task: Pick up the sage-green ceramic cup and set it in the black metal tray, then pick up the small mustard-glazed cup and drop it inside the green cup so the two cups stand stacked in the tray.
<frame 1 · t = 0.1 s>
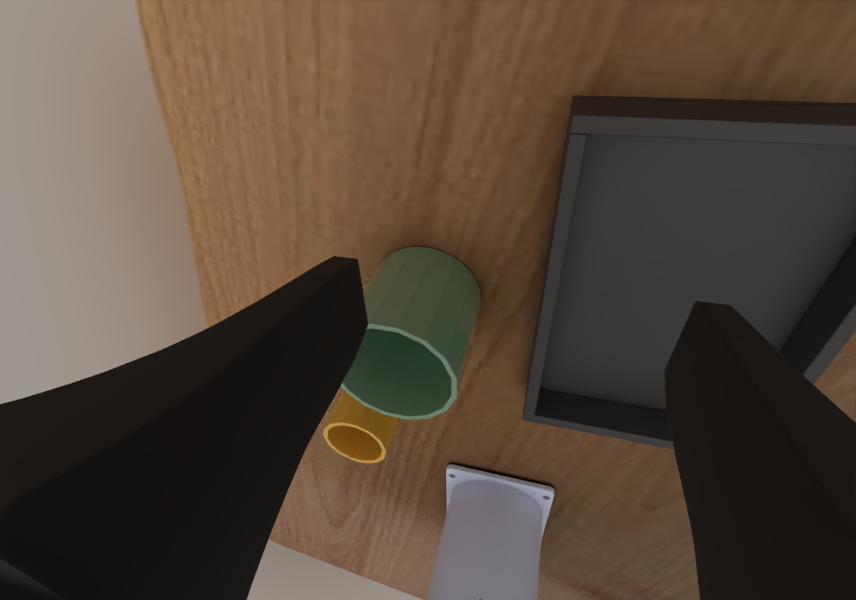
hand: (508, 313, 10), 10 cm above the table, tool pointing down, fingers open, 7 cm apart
mustard cup: (386, 371, 28), on the table
green cup: (426, 293, 23), on the table
tray: (671, 292, 20), on the table
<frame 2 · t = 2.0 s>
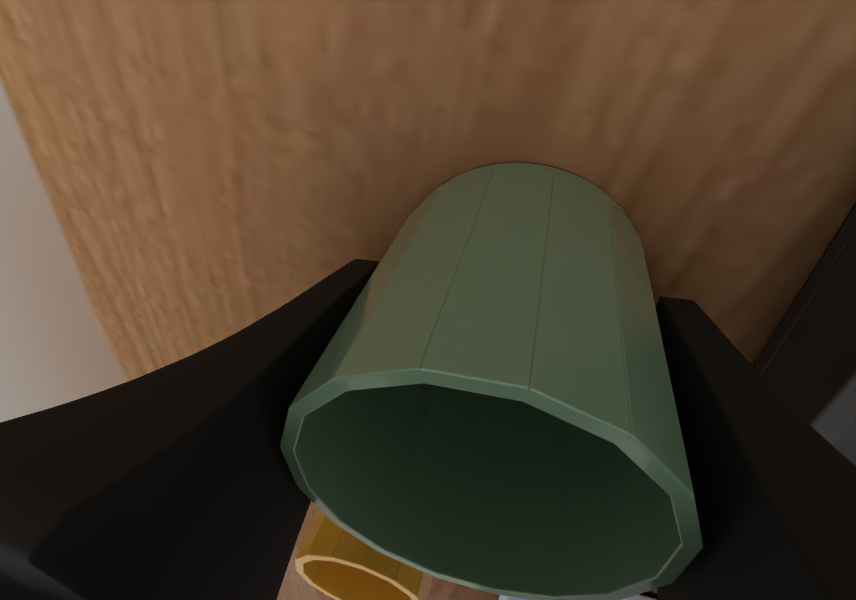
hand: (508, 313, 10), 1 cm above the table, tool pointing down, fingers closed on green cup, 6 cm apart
mustard cup: (415, 422, 16), on the table
green cup: (513, 277, 11), on the table, touching gripper
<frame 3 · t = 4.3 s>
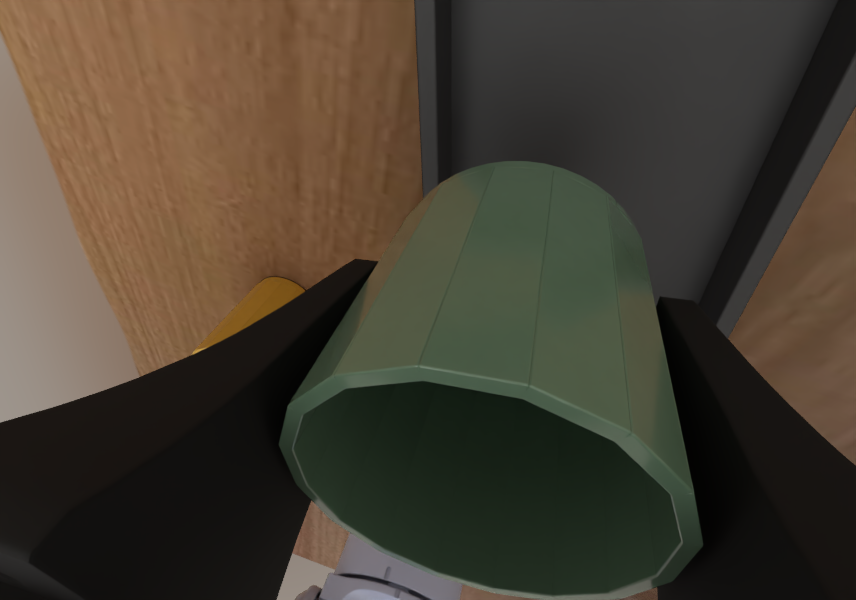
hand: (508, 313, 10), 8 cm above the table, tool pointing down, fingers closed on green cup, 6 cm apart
mustard cup: (287, 303, 24), on the table
green cup: (513, 276, 11), point 7 cm above the table, touching gripper
tray: (591, 164, 15), on the table
when the fingers open (2 cm above the table, at t = 6.7 s): green cup stays where it is, resting on tray.
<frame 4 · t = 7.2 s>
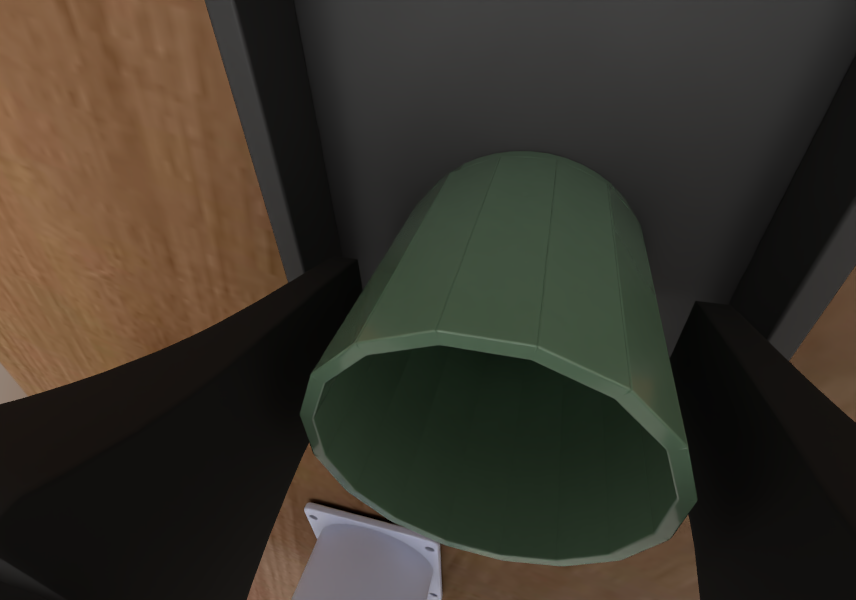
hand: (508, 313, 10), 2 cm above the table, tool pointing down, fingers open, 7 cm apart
green cup: (517, 263, 11), resting on tray
tray: (519, 256, 12), on the table
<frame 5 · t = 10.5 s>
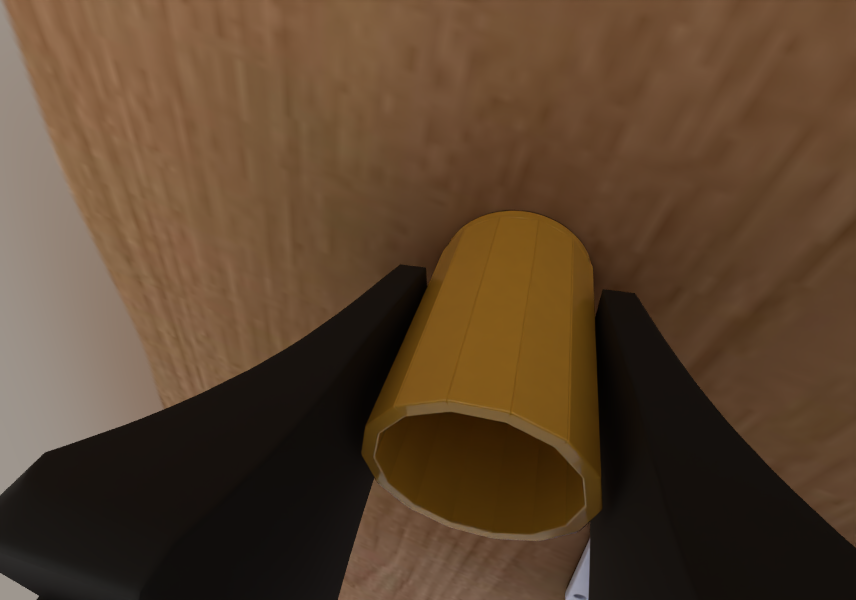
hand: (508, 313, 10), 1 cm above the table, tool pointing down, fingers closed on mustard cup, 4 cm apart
mustard cup: (513, 277, 11), on the table, touching gripper
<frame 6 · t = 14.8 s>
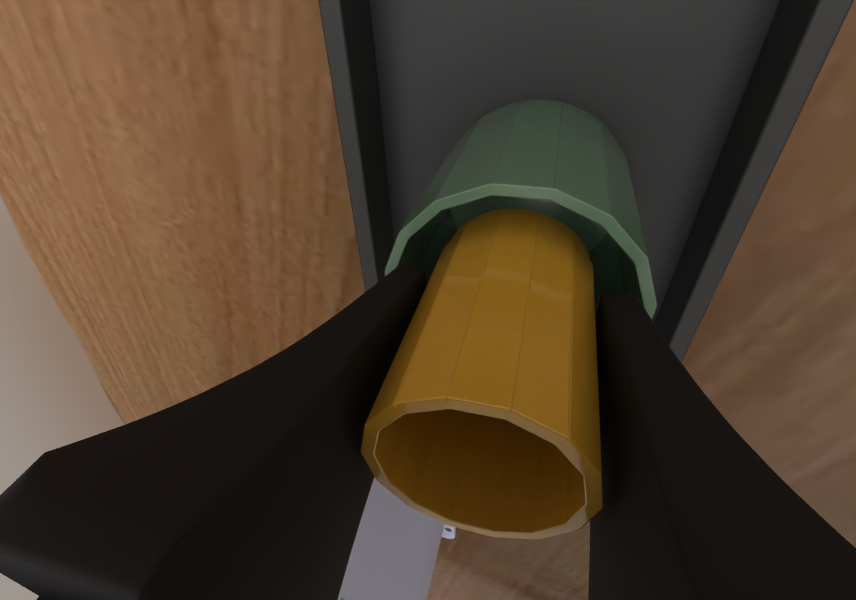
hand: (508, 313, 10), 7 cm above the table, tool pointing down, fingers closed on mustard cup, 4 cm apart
mustard cup: (514, 275, 11), point 5 cm above the table, touching gripper
green cup: (531, 194, 14), resting on tray
tray: (532, 189, 15), on the table
when the fingers open (8 cm above the table, at t = 25.0 s): mustard cup drops 6 cm, resting on green cup.
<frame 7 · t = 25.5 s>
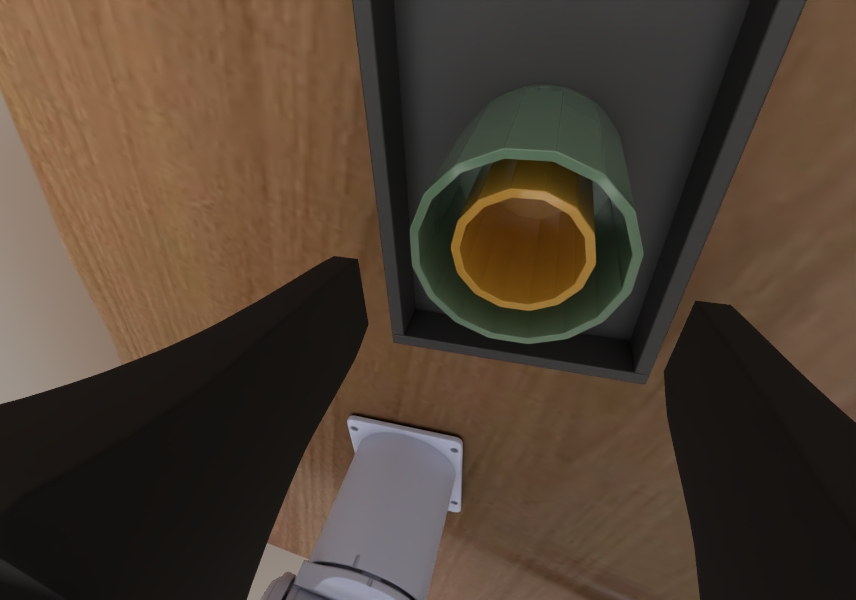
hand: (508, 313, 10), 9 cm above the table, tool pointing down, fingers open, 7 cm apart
mustard cup: (536, 173, 16), point 1 cm above the table, touching green cup
green cup: (534, 171, 16), resting on tray, touching mustard cup
tray: (536, 166, 16), on the table
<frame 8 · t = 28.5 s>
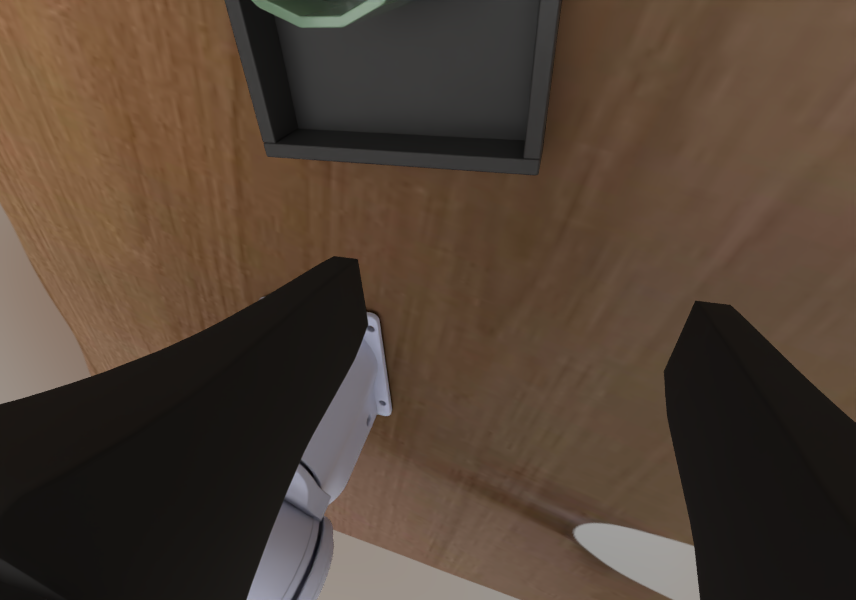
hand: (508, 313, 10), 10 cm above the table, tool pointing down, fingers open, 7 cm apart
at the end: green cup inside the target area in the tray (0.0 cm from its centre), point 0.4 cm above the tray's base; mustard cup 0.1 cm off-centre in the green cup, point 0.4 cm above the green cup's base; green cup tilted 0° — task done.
